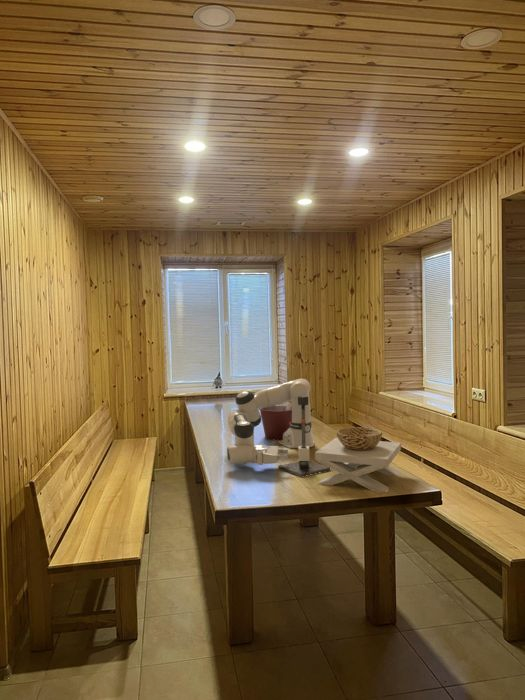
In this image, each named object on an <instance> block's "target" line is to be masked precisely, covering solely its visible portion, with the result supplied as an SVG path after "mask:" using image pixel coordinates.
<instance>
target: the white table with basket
mask: <svg viewBox="0 0 525 700" xmlns="http://www.w3.org/2000/svg"><path fill="white" fill-rule="evenodd" d="M336 436H337V437H334V438H333V439H332V440H330V441H329V442H328V443H326V444H324V445H323V446H322V447H320V448H319V449H318V450H316V451H314V460H315V461H317V462H319V464H320V463H321V465H324V466H327V467H329V468H330V470H333V471H335V472H337V473H338V474H335V475H332V476H329V477H326V478H322V479H320V480H321V481H320V480H319V481H320V482H319V481H318V482H319V483H318V482H317V483H318V484H317V485H320V484H325V485H324V486H329V485H331V486H333V485H336V484H340V483H342V482H345V481H348V480H352V481H353V482H354V483H357V484H358V485H360V486H362V487H364V488H366V489H368V490H369V491H371V490H373V491H372V492H378V491H380V493H387V492H388V491H389V490H388V488H389V489H390V487H388V486H387V485H384V484H383V483H381V482H380V481H378V480H375V478H372V477H370V476H368V475H367V474H369V473H372V472H373V473H374V472H378V473H380V474H383V475H387V476H394V475H396V477H397V476H399V475H400V473H399V472H400V471H399V470H397V469H395V468H393V467H391V466H390V464H391V463H392V461H394V459H395V458H396V456H398V454H399V453H400V452H401V450H402V443H401V442H397V441H385V440H384V441H382V439H383V438H382V437H383V432H382V430H379V429H377V428H373V427H363V426H361V427H360V426H359V427H357V426H356V427H355V426H353V427H344V428H339V429H337V430H336ZM363 464H365V465H363ZM398 474H399V475H398ZM387 490H388V491H387ZM386 491H387V492H386Z"/></svg>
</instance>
